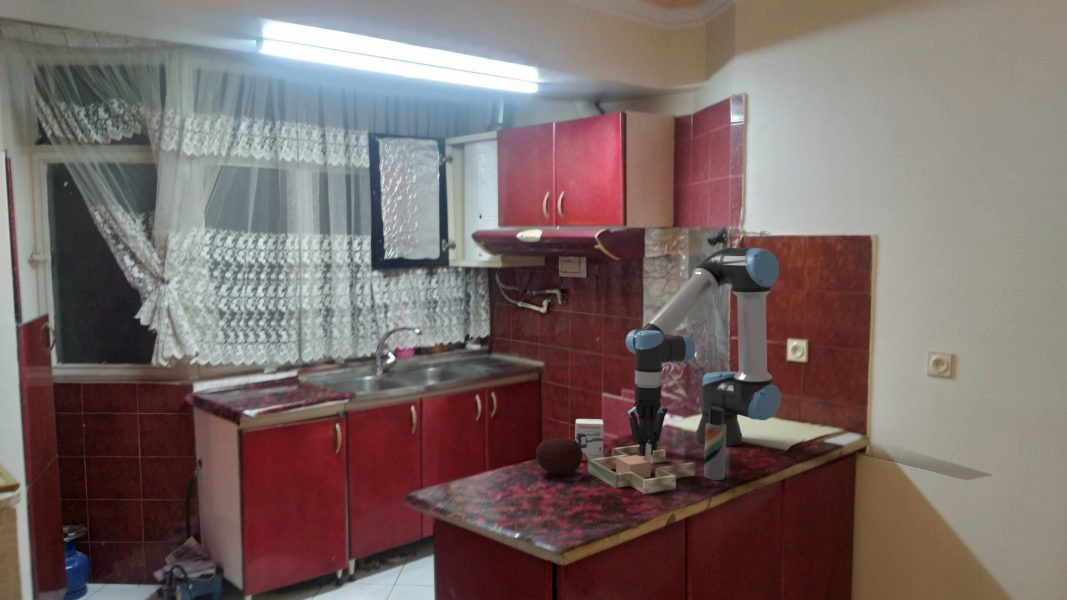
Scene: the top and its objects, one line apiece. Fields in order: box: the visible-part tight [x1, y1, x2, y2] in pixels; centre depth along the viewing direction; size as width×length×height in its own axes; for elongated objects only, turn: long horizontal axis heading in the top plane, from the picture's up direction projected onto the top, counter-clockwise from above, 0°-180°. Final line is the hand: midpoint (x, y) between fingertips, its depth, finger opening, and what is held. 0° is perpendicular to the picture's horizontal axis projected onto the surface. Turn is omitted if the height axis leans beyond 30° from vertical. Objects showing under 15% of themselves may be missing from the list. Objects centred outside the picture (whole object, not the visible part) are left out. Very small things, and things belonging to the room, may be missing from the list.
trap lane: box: [587, 444, 696, 495], centre depth 205 cm, size 26×29×4 cm
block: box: [615, 455, 652, 479], centre depth 204 cm, size 7×7×4 cm
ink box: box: [574, 418, 605, 462], centre depth 218 cm, size 8×5×12 cm, turn 86°
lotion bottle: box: [703, 406, 727, 481], centre depth 202 cm, size 6×6×20 cm
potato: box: [535, 437, 583, 476], centre depth 203 cm, size 11×13×10 cm
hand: (645, 466), depth 206 cm, fingers closed
